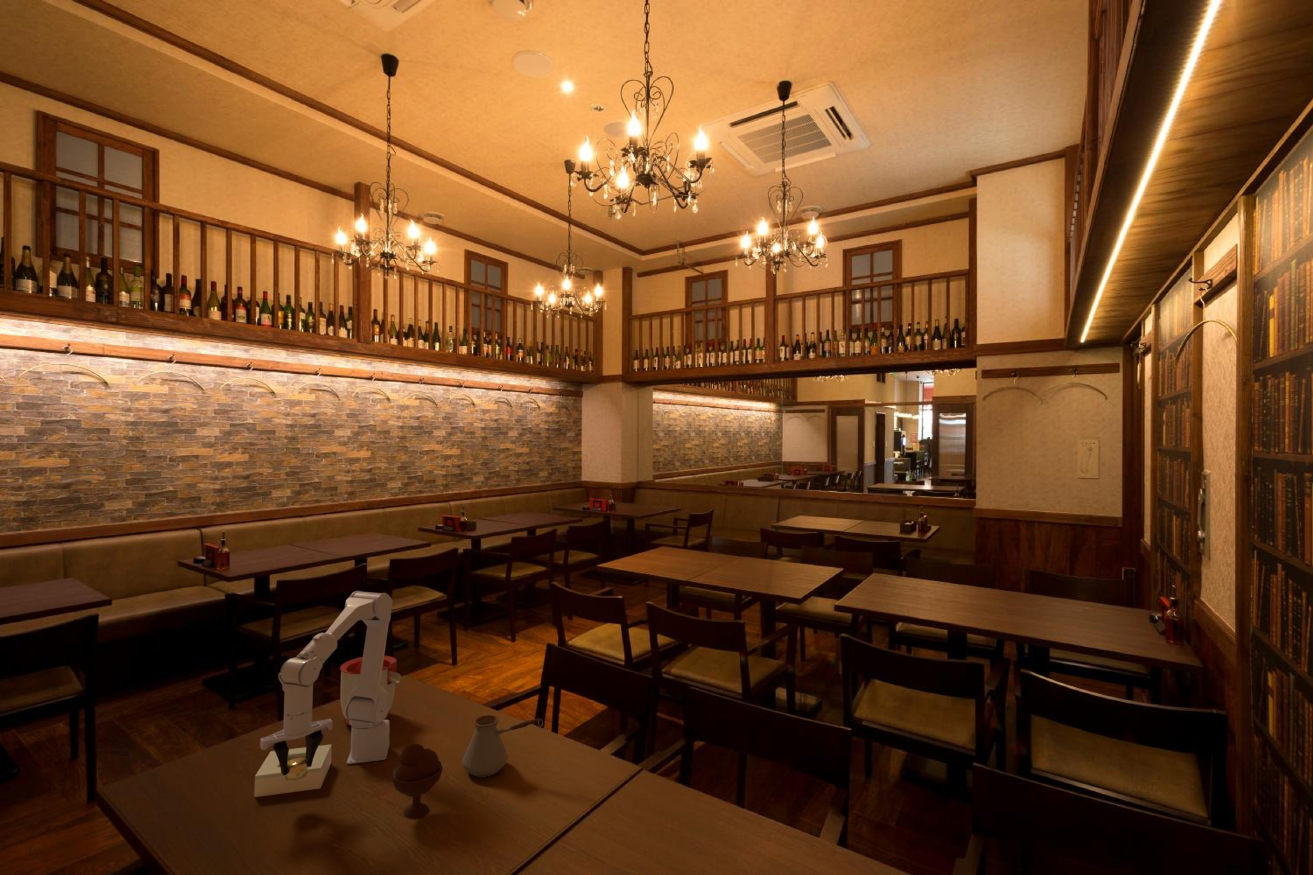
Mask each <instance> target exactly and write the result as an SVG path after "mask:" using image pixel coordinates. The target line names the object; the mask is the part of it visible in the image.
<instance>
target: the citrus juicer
mask: <svg viewBox="0 0 1313 875" xmlns="http://www.w3.org/2000/svg"><path fill="white" fill-rule="evenodd" d="M362 659H363V656H360V657H356V658H354V659H350V660H348V661H345V662H344V663H343V664H341V666H340V667H339V669H340V671H341V672H340V706H341V707H340V708H341V711H342V716H343V718H344V721H345V723H346V725H348V726H350V727H352V725H351V724H349V720H348V719H346V717H345V706H346V704H347V702H348V699H349V695H350V692H351V691H352V690H354V689H355V688H357V687H358V686H359V680H360V673H361V666H362ZM397 662H398V661H397V659H396V657H393V656H390V655H384V660H383V667H382V675H381V682H380V685H381V686H382V687H383V688H384V689H385V690H386V691H387V692H388V706H389V709H388V713H387V715H386V717H385V719H384V720H387V718H388V717H389V714H390V713H391V710H392V706H393V702H394V699H395V693H396V692H395V691H396V690H395V689H396V684H399V683H400V682H401V680H402V676H401V674H400V673H398V672H397V665H398V664H397Z"/></svg>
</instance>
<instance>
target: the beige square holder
mask: <svg viewBox="0 0 1313 875" xmlns="http://www.w3.org/2000/svg"><path fill="white" fill-rule="evenodd" d="M296 758H306V746H305V747H298V748H289V752H288V760H287V762H288V761H290V760H292V759H296ZM331 764H332V744H325V745H324V744H323V745H319V746H318V748H317V750H316V752H315V755H314V758H313V762H312V766H311V767H308V771H307V775H306V776H305V777H304V778H302V779H299V780H295V781H287V780H286V779H285V775H283V774H282V773H281V767H280V763H279V760H278V757H277V755H276V753H275V751H274V750H272V751H271V750H270V752H269V753H268V755H267V756H266V758H265V760H264V761H263V762H262V764H261V766H260V768H259V769H258V771H257V772H256V774H255V775H254V795H253V796H254V798H258V797H265V796H267V797H268V796H273V795H280V794H288V793H294V792H295V793H296V792H303V791H311V790H312V791H313V790H319V789H321V788H322V785H323V783H324V781H325V778H326V777H327V775H328V771H329V769H330V766H331Z"/></svg>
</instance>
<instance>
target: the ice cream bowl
mask: <svg viewBox="0 0 1313 875" xmlns="http://www.w3.org/2000/svg"><path fill="white" fill-rule="evenodd" d="M399 762H400V764H399V765H397V766H396V767H395V768H394V769H393V770H392V771H391V774H392V780H393V781H392V782H393V786H394V788H395V790H397V791H398V792H399V793H400V794H402V795H405V796H407V797H411V798H412V803H411V804H408V805H407V806H406V807H405V808H404V810H403V816H404V817H405V818H408V819H418V818H421V817H424V816H425V815H426V814H427V813H428V812H429V811H430V809H429V805H428V804H427V803H426V802H423V801H421V800H422V799H421V798H422V797H421V796H422V795H425V794H426V793H428V792H429V791H430V790H431V789H432V788H433V787H434V786H436V784H437V783H438V782H439V780H440V779H441V776H442V773H443V766H442V762H441V761H440V760H439V756H438V754H437V752H436V751H434V750H433V749H431V748H424V746H423V744H419V743H409V744H408V745H407V746H405V747H403V750H402V751H401V752H400V754H399Z"/></svg>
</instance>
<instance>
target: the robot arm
mask: <svg viewBox="0 0 1313 875" xmlns="http://www.w3.org/2000/svg"><path fill="white" fill-rule="evenodd" d="M393 602H394V601H393V599H392V597H391V596H390V594H388V593H385V592H383V593H379V592H369V591H361V590H356V591H353V592H352V593H351V594H350V595H349V597H348V598H347V599H346V600H345V604H344V609H343V610H342V611H341V613H339V615H338V616H337V618H336V619H335V620H334V622H333V623H332V624H331V625H330V626H329V628H328V629H327V630H326V632H320V633H317V634H315V636H313V638H312V639H311V640H310V642H309V643H308V644H307V645H306V646H305V647H304V648H303V649H302V650H301V651H300V652H299V654H297V656H296V657H292V658H289V659H287V661H285V662H284V663H283V665H281V668H280V672H279V673H278V675H277V676H278V677H277V678H278V680H279V682H280V683H281V684H282V687H281V688H282V691H283V692H284V698H283V699H284V701H283V707H284V708H283V728H282V729H281V730H279V731H276V732H274V733H271V734H270V735H268V736H265V737H264V736H263V737H261V738H260V742H259V743H260V746H259V747H260V749H261V751H264V750H268V749H269V748H270V747H272V749H273V751H275V753H276V755H277V757H278V760H279V763H280V767H281V773H282V774H283V775H287V771H288V767H287V760H288V752H289V749H290V747H289V746H288V743H287V742H290V741H293V740H297V739H302V738H304V737H305V747H306V758H307V759H308V767H311V766H312V762H313V758H314V755H315V752H316V750H317V748H318V746H320V744H321V743H322V741H323V738H324V733H322V732H324V731H330V730H333V720H332V719H331V718H326V719H322V720H317V721H313V699H314V698H313V694H314V693H313V692H314V682H315V681H317V679H318V678H319V675H320V672H321V669H322V668H323V665H324V663H325V661H326V660H328V659H329V657H331V655H332V654H333V653H334V651H336V649H337V648H338V640H339V639H340V638H341V637H342V636H344V634H346V633H347V632H348V631H349V629H351V628H352V627H353V626H354V625H355V624H356V623H357V622H358V621H363V623H364V625H366V634H365V641H364V647H363V653H362V654H363V655H362V657H363V659H362V666H361V673H360V680H359V686H358V687H357V688H355V689H354V690H352V691H351V692H350V695H349V699H348V702H347V704H346V706H345V717H346V719H348V720H349V724H351V725H352V726H351V729H350V730H351V733H350V752H349V755H348V757H347V760H346V765H352V764H360V763H361V764H362V763H370V762H378V761H384V760H386V759H387V756H388V752H389V748H390V720H389V719H385V717H386V715H387V713H388V709H389V706H388V692H387V691H386V690H385V689H384V688H383V687H382V686H381V685H380V682H381V675H382V667H383V660H384V656H385V652H386V651H385V650H386V645H387V639H388V631H389V624H390V621H391V619H392V618H391V616H392V609H393ZM384 719H385V720H384Z"/></svg>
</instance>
